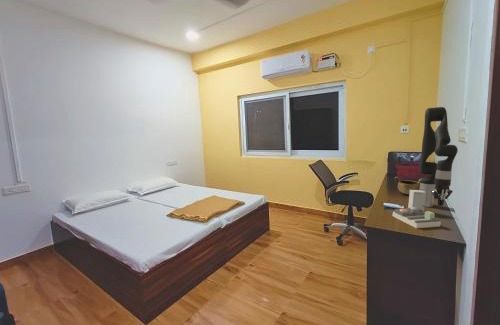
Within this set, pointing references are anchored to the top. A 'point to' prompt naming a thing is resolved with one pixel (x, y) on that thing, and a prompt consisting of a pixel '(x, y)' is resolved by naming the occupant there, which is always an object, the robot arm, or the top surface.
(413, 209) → the grey button
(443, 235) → the top surface
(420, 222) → the panel
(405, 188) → the tan woven basket
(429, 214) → the sage slider
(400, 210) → the terracotta button
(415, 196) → the skincare box
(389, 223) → the top surface
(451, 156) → the robot arm
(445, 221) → the top surface
